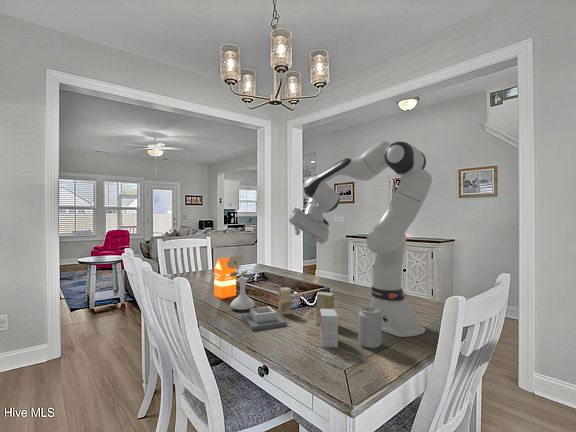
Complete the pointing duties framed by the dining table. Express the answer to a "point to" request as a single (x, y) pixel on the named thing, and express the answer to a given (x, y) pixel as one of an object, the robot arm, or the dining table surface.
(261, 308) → the socket board
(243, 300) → the flower in vase
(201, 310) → the dining table surface
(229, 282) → the orange juice
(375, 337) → the can
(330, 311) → the small box
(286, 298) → the maple peg
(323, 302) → the skincare box
